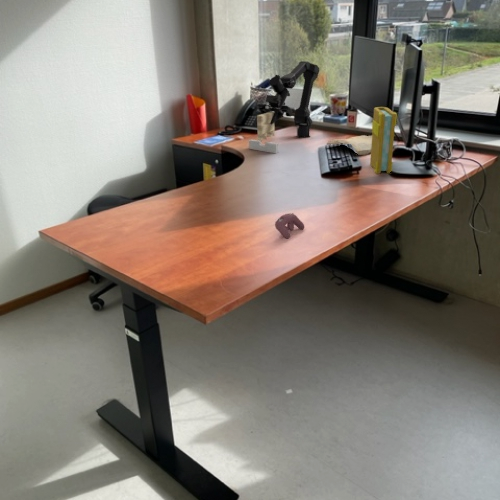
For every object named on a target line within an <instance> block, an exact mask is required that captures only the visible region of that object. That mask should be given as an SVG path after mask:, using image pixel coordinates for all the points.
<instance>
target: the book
mask: <svg viewBox="0 0 500 500" xmlns="http://www.w3.org/2000/svg"><path fill="white" fill-rule="evenodd" d="M372 118H373V119H372V125H371V127H372V128H371V133H372V134H371V135H372V145H371V153H370V158H369V159H370V160H369V161H370V163H369V164H370V166H371V168H373V172H374V173H375V174H381V172H385V173H387V174H391V173H390V172H391V171H393V163H394V162H393V149H394V140H395V139H394V137H395V130H396V129H395V128H396V126H397V118H398V114H397V113H396V111H392V110H391V109H390V108H389V107H385V106H377V107H374V108H373V117H372Z"/></svg>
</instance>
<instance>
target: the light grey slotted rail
mask: <svg viewBox="0 0 500 500" xmlns="http://www.w3.org/2000/svg"><path fill="white" fill-rule="evenodd" d="M248 149H250V150H255V151H261V152H268V153H272V154H273V153H274V154H278V153H279V143H277V142H270V141H265V143H264V144H262V140H258V139H249V140H248Z"/></svg>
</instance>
